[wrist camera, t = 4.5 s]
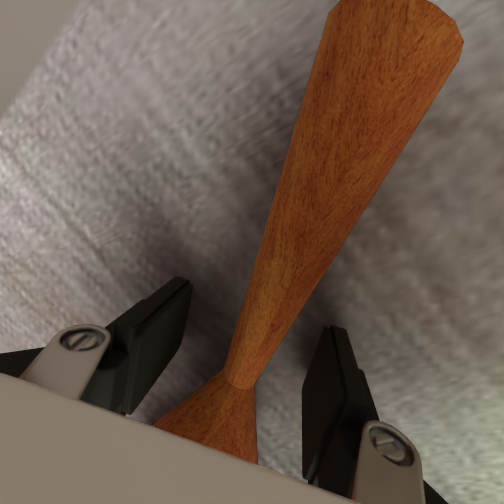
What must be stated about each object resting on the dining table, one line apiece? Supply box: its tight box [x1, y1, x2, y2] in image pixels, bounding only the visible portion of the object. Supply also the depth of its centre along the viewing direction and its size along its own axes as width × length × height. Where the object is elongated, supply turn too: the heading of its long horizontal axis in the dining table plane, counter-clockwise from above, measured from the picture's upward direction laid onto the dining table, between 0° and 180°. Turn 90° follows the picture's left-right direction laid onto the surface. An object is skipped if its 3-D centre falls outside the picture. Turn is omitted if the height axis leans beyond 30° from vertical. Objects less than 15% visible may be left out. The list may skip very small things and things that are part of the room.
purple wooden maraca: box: [153, 0, 464, 465], centre depth 9 cm, size 6×6×20 cm
